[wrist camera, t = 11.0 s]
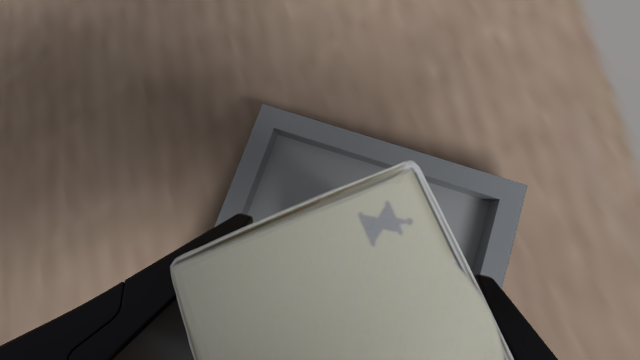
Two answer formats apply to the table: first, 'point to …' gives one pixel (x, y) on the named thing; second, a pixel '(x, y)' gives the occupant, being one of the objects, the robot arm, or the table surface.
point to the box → (340, 282)
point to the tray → (360, 161)
